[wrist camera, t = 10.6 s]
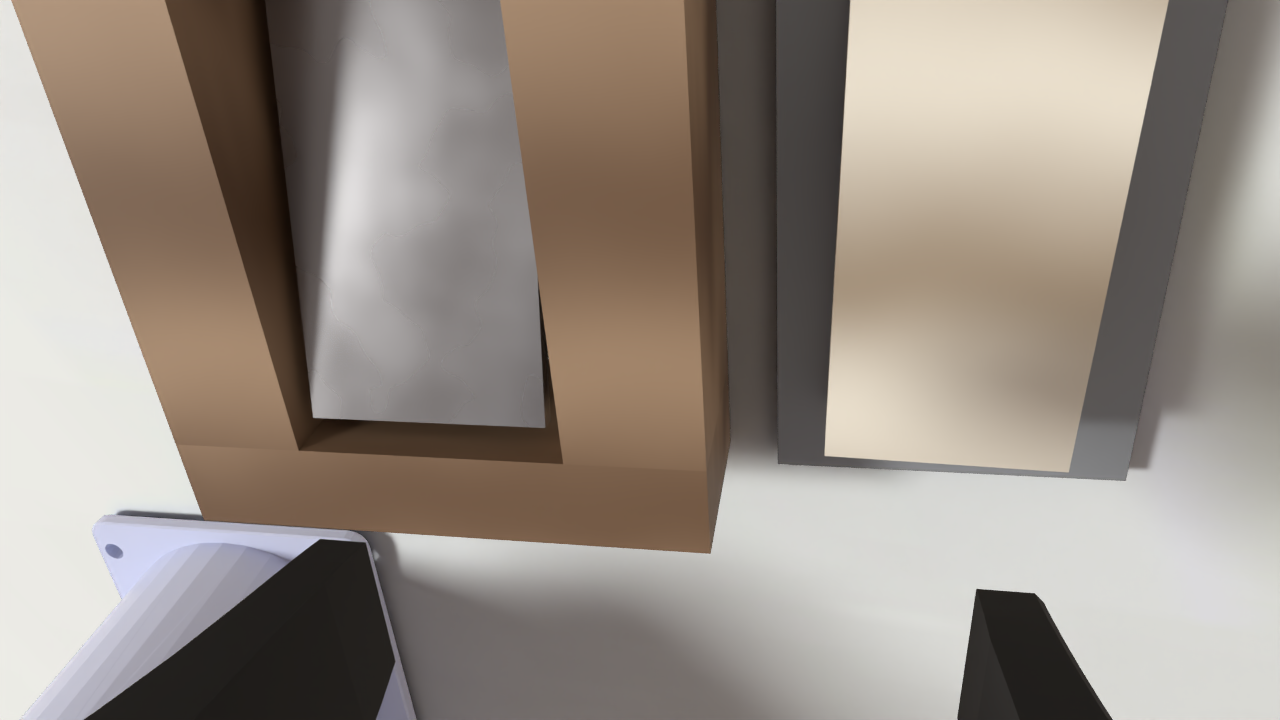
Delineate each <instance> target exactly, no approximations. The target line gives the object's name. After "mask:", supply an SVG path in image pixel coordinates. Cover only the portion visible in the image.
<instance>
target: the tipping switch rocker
mask: <svg viewBox="0 0 1280 720" xmlns="http://www.w3.org/2000/svg"><path fill="white" fill-rule="evenodd" d="M265 4H266V13H267V22H268V30H269V39H270V48H271V56H272V65H273V74H274V82H275V91H276V100H277V108H278V117H279V126H280V134H281V143H282V152H283V160H284V169H285V178H286V186H287V195H288V204H289V212H290V221H291V230H292V238H293V247H294V256H295V264H296V273H297V282H298V290H299V299H300V308H301V316H302V325H303V334H304V342H305V351H306V360H307V368H308V377H309V386H310V394H311V403H312V412H313V418H328V419H351V420H374V421H396V422H419V423H442V424H465V425H488V426H510V427H533V428H546V427H547V425H548V424H549V423H550V422H551V412H550V391H549V371H548V351H547V341H546V334H545V327H544V319H543V312H542V305H541V297H540V290H539V283H538V275H537V268H536V261H535V253H534V246H533V239H532V231H531V224H530V216H529V209H528V202H527V194H526V187H525V180H524V172H523V165H522V158H521V150H520V143H519V136H518V128H517V121H516V114H515V106H514V99H513V92H512V84H511V77H510V70H509V62H508V55H507V48H506V40H505V33H504V26H503V18H502V11H501V4H500V0H265Z"/></svg>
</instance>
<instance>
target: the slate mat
mask: <svg viewBox="0 0 1280 720" xmlns="http://www.w3.org/2000/svg"><path fill="white" fill-rule="evenodd" d="M1227 3H1228V0H1169V2H1168V6H1167V11H1166V16H1165V20H1164V25H1163V30H1162V35H1161V39H1160V44H1159V49H1158V54H1157V58H1156V63H1155V68H1154V72H1153V77H1152V82H1151V87H1150V91H1149V96H1148V101H1147V105H1146V110H1145V115H1144V120H1143V124H1142V129H1141V134H1140V138H1139V143H1138V148H1137V153H1136V157H1135V162H1134V167H1133V171H1132V176H1131V181H1130V186H1129V190H1128V195H1127V200H1126V205H1125V209H1124V214H1123V219H1122V223H1121V228H1120V233H1119V238H1118V242H1117V247H1116V252H1115V256H1114V261H1113V266H1112V271H1111V275H1110V280H1109V285H1108V289H1107V294H1106V299H1105V304H1104V308H1103V313H1102V318H1101V322H1100V327H1099V332H1098V337H1097V341H1096V346H1095V351H1094V356H1093V360H1092V365H1091V370H1090V374H1089V379H1088V384H1087V389H1086V393H1085V398H1084V403H1083V407H1082V412H1081V417H1080V422H1079V426H1078V431H1077V436H1076V440H1075V445H1074V450H1073V455H1072V459H1071V464H1070V469H1069V473H1068V472H1053V471H1039V470H1024V469H1009V468H995V467H980V466H965V465H950V464H936V463H921V462H906V461H892V460H877V459H862V458H847V457H833V456H824V455H825V432H826V408H827V389H828V371H829V354H830V336H831V319H832V302H833V284H834V267H835V250H836V232H837V215H838V197H839V180H840V163H841V145H842V128H843V110H844V93H845V76H846V58H847V41H848V24H849V6H850V0H776V104H777V368H778V464H790V465H810V466H831V467H851V468H872V469H892V470H913V471H933V472H954V473H975V474H995V475H1016V476H1036V477H1057V478H1077V479H1098V480H1118V481H1126V477H1127V472H1128V468H1129V463H1130V458H1131V454H1132V449H1133V444H1134V440H1135V435H1136V430H1137V426H1138V421H1139V416H1140V411H1141V407H1142V402H1143V397H1144V393H1145V388H1146V383H1147V379H1148V374H1149V369H1150V365H1151V360H1152V355H1153V350H1154V346H1155V341H1156V336H1157V332H1158V327H1159V322H1160V318H1161V313H1162V308H1163V304H1164V299H1165V294H1166V289H1167V285H1168V280H1169V275H1170V271H1171V266H1172V261H1173V257H1174V252H1175V247H1176V243H1177V238H1178V233H1179V228H1180V224H1181V219H1182V214H1183V210H1184V205H1185V200H1186V196H1187V191H1188V186H1189V182H1190V177H1191V172H1192V167H1193V163H1194V158H1195V153H1196V149H1197V144H1198V139H1199V135H1200V130H1201V125H1202V121H1203V116H1204V111H1205V106H1206V102H1207V97H1208V92H1209V88H1210V83H1211V78H1212V74H1213V69H1214V64H1215V60H1216V55H1217V50H1218V45H1219V41H1220V36H1221V31H1222V27H1223V22H1224V17H1225V13H1226V8H1227Z"/></svg>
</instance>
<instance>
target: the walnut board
mask: <svg viewBox="0 0 1280 720" xmlns="http://www.w3.org/2000/svg"><path fill="white" fill-rule="evenodd" d="M11 1H12V3H13V6H14V9H15V11H16V14H17V17H18V19H19V22H20V25H21V27H22V30H23V33H24V36H25V38H26V41H27V44H28V46H29V49H30V52H31V54H32V57H33V60H34V63H35V65H36V68H37V71H38V73H39V76H40V79H41V81H42V84H43V87H44V90H45V92H46V95H47V98H48V100H49V103H50V106H51V108H52V111H53V114H54V117H55V119H56V122H57V125H58V127H59V130H60V133H61V135H62V138H63V141H64V143H65V146H66V149H67V152H68V154H69V157H70V160H71V162H72V165H73V168H74V170H75V173H76V176H77V179H78V181H79V184H80V187H81V189H82V192H83V195H84V197H85V200H86V203H87V206H88V208H89V211H90V214H91V216H92V219H93V222H94V224H95V227H96V230H97V233H98V235H99V238H100V241H101V243H102V246H103V249H104V251H105V254H106V257H107V259H108V262H109V265H110V268H111V270H112V273H113V276H114V278H115V281H116V284H117V286H118V289H119V292H120V295H121V297H122V300H123V303H124V305H125V308H126V311H127V313H128V316H129V319H130V322H131V324H132V327H133V330H134V332H135V335H136V338H137V340H138V343H139V346H140V349H141V351H142V354H143V357H144V359H145V362H146V365H147V367H148V370H149V373H150V375H151V378H152V381H153V384H154V386H155V389H156V392H157V394H158V397H159V400H160V402H161V405H162V408H163V411H164V413H165V416H166V419H167V421H168V424H169V427H170V429H171V432H172V435H173V438H174V440H175V443H176V446H177V448H178V451H179V454H180V456H181V459H182V462H183V465H184V467H185V470H186V473H187V475H188V478H189V481H190V483H191V486H192V489H193V491H194V494H195V497H196V500H197V502H198V505H199V508H200V510H201V513H202V516H203V518H204V520H209V521H224V522H239V523H254V524H270V525H285V526H300V527H315V528H330V529H345V530H360V531H375V532H391V533H406V534H421V535H436V536H451V537H466V538H481V539H497V540H512V541H527V542H542V543H557V544H572V545H587V546H603V547H618V548H633V549H648V550H663V551H678V552H693V553H709V554H710V553H711V548H712V542H713V537H714V531H715V525H716V520H717V514H718V508H719V503H720V497H721V492H722V486H723V480H724V475H725V469H726V463H727V458H728V452H729V447H730V412H729V382H728V351H727V320H726V290H725V259H724V228H723V198H722V167H721V136H720V106H719V75H718V44H717V14H716V0H500V4H501V11H502V18H503V26H504V33H505V40H506V48H507V55H508V62H509V70H510V77H511V84H512V92H513V99H514V106H515V114H516V121H517V128H518V136H519V143H520V150H521V158H522V165H523V172H524V180H525V187H526V194H527V202H528V209H529V216H530V224H531V231H532V239H533V246H534V253H535V261H536V268H537V275H538V283H539V290H540V297H541V305H542V312H543V319H544V327H545V334H546V341H547V349H548V356H549V360H548V371H549V391H550V412H551V422H550V423H549V424H548V425H547V427H546V428H533V427H510V426H488V425H465V424H442V423H419V422H396V421H374V420H351V419H328V418H313V412H312V403H311V394H310V386H309V377H308V368H307V360H306V351H305V342H304V334H303V325H302V316H301V308H300V299H299V290H298V282H297V273H296V264H295V256H294V247H293V238H292V230H291V221H290V212H289V204H288V195H287V186H286V178H285V169H284V160H283V152H282V143H281V134H280V126H279V117H278V108H277V100H276V91H275V82H274V74H273V65H272V56H271V48H270V39H269V30H268V22H267V13H266V4H265V0H11Z"/></svg>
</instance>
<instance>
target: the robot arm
mask: <svg viewBox="0 0 1280 720" xmlns="http://www.w3.org/2000/svg"><path fill="white" fill-rule="evenodd" d="M92 532H93V536H94V538H95V541H96V543H97V545H98V547H99V550H100V552H101V554H102V556H103V559H104V561H105V563H106V565H107V568H108V570H109V572H110V574H111V577H112V579H113V581H114V583H115V586H116V588H117V590H118V592H119V595H120V597H121V599H122V600H121V601H120V602H119V604H118V605H117V606H116V607H115V608H114V609H113V611H112V612H111V613H110V614H109V615H108V616H107V618H106V619H105V620H104V621H103V622H102V624H101V625H100V626H99V627H98V628H97V629H96V631H95V632H94V633H93V634H92V635H91V636H90V638H89V639H88V640H87V641H86V642H85V643H84V645H83V646H82V647H81V648H80V649H79V650H78V652H77V653H76V654H75V655H74V656H73V657H72V659H71V660H70V661H69V662H68V663H67V664H66V666H65V667H64V668H63V669H62V670H61V672H60V673H59V674H58V675H57V676H56V677H55V679H54V680H53V681H52V682H51V683H50V684H49V686H48V687H47V688H46V689H45V690H44V691H43V693H42V694H41V695H40V696H39V697H38V698H37V700H36V701H35V702H34V703H33V704H32V705H31V707H30V708H29V709H28V710H27V711H26V712H25V714H24V715H23V716H22V717H21V718H20V720H417V719H416V716H415V712H414V708H413V705H412V701H411V697H410V693H409V690H408V686H407V682H406V679H405V675H404V671H403V667H402V664H401V660H400V656H399V653H398V649H397V645H396V641H395V638H394V634H393V630H392V627H391V623H390V619H389V615H388V612H387V608H386V604H385V601H384V597H383V593H382V589H381V586H380V582H379V578H378V575H377V571H376V567H375V563H374V560H373V556H372V552H371V549H370V546H369V544H368V542H367V540H366V539H365V538H364V537H363V536H362V535H360V534H358V533H356V532H353V531H348V530H332V529H317V528H302V527H287V526H272V525H257V524H242V523H227V522H212V521H197V520H181V519H166V518H151V517H136V516H121V515H104V516H103V517H101V518H100V519H99V520H98V521H97V522H96V523H95V524H94V525H93V528H92ZM958 720H1112V718H1111V716H1110V715H1109V713H1108V712H1107V710H1106V709H1105V707H1104V706H1103V704H1102V702H1101V701H1100V699H1099V698H1098V696H1097V695H1096V693H1095V691H1094V690H1093V688H1092V686H1091V685H1090V683H1089V682H1088V680H1087V678H1086V677H1085V675H1084V673H1083V672H1082V670H1081V668H1080V667H1079V665H1078V663H1077V662H1076V660H1075V658H1074V657H1073V655H1072V653H1071V652H1070V650H1069V648H1068V646H1067V645H1066V643H1065V641H1064V639H1063V638H1062V636H1061V634H1060V632H1059V630H1058V629H1057V627H1056V625H1055V623H1054V621H1053V619H1052V618H1051V616H1050V614H1049V612H1048V610H1047V608H1046V606H1045V604H1044V602H1043V601H1042V600H1041V599H1040V598H1039V597H1038V596H1037V595H1036V594H1035V593H1022V592H1009V591H996V590H983V589H976V596H975V602H974V609H973V616H972V623H971V629H970V636H969V643H968V650H967V656H966V663H965V670H964V677H963V683H962V690H961V697H960V704H959V710H958Z"/></svg>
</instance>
